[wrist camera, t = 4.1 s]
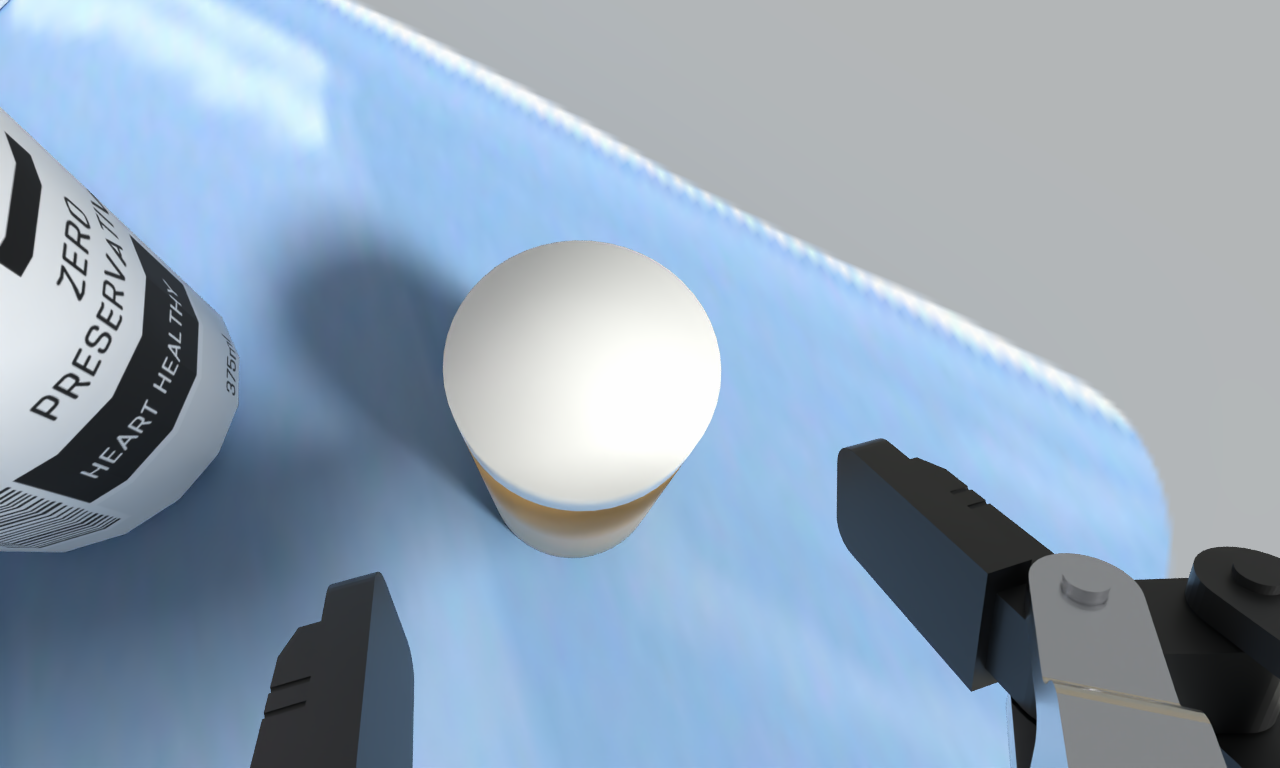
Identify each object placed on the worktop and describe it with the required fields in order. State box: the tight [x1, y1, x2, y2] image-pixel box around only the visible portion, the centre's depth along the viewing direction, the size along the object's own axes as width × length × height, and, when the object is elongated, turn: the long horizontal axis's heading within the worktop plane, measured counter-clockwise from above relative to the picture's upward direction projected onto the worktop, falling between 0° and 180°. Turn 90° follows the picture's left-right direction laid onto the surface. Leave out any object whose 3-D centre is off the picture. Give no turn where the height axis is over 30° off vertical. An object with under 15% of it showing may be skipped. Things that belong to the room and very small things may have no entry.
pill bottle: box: [443, 241, 721, 558], centre depth 16 cm, size 5×5×9 cm
